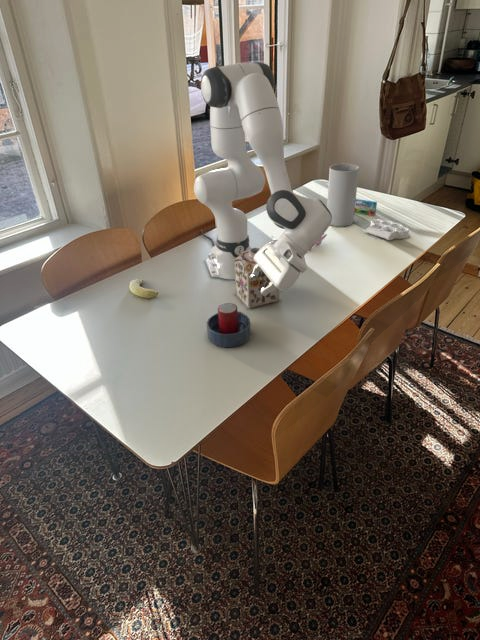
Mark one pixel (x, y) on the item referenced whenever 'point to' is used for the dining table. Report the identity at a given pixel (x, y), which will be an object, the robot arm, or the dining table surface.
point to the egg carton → (387, 229)
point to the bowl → (229, 339)
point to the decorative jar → (247, 287)
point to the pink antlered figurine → (318, 241)
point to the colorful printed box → (365, 207)
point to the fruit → (141, 289)
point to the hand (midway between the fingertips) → (256, 286)
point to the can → (228, 318)
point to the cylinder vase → (342, 193)
